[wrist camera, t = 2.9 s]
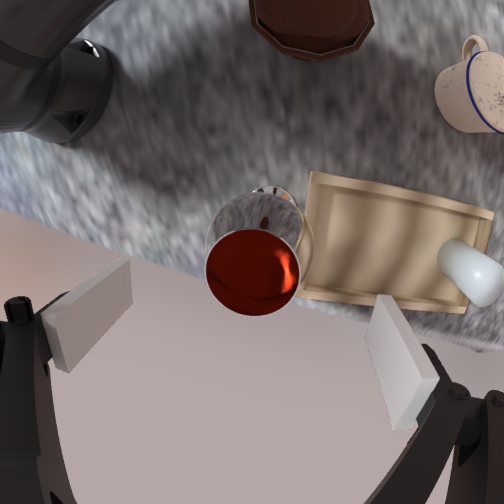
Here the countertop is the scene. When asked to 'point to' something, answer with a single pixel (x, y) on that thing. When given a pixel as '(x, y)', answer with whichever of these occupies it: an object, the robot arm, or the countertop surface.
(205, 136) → the countertop surface
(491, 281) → the white rounded capsule
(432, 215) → the tray
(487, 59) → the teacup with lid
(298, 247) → the wineglass
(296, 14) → the ice cream bowl
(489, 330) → the countertop surface
